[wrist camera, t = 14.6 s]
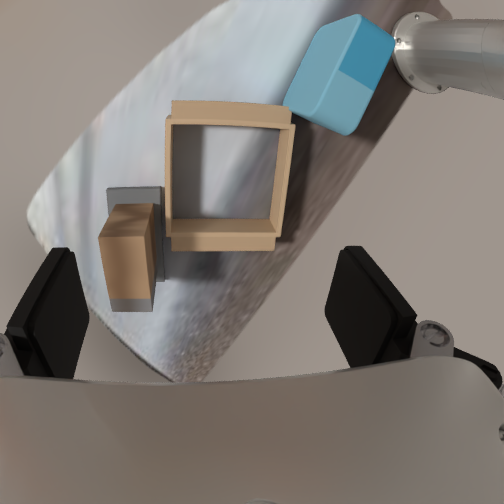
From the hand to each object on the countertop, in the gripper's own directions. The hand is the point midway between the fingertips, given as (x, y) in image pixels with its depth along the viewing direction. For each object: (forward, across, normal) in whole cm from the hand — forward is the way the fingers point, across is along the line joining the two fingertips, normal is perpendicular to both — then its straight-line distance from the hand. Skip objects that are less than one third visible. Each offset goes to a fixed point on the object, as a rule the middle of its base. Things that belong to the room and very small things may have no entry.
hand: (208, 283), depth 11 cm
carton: (+30, -3, +5) cm, 31 cm away
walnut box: (+29, +8, +14) cm, 33 cm away
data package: (+31, -14, -9) cm, 34 cm away
